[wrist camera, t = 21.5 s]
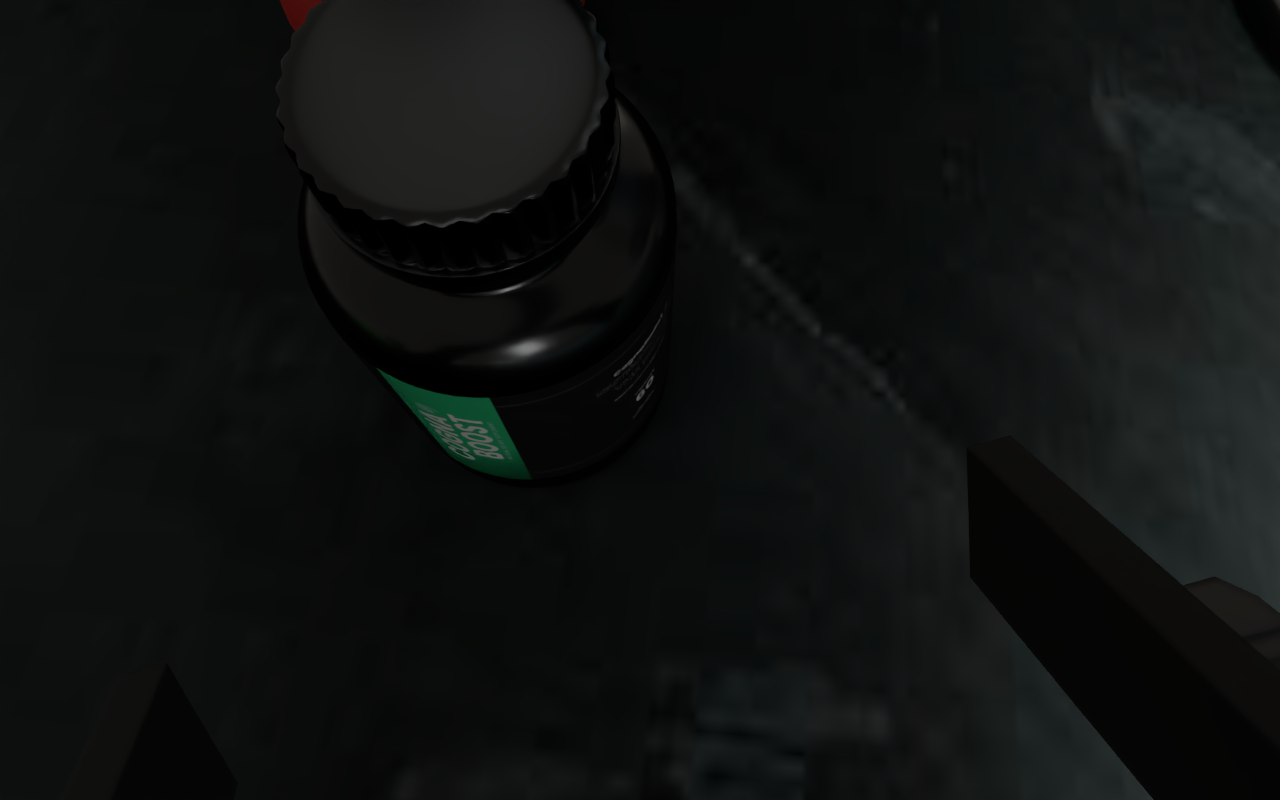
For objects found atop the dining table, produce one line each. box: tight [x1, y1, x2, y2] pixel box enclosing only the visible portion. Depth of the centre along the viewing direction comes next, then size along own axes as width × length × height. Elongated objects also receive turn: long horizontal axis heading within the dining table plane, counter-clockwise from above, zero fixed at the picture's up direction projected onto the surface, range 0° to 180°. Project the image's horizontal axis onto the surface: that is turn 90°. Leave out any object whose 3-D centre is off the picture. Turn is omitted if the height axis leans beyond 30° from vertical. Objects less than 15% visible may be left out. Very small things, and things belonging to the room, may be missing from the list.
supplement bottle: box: [276, 0, 677, 488], centre depth 18 cm, size 7×7×12 cm
